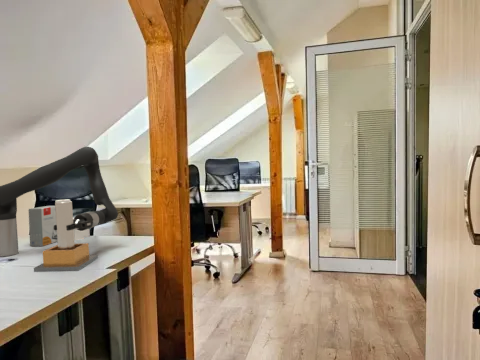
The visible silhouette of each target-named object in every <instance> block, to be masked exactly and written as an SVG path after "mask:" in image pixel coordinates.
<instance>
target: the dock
mask: <svg viewBox="0 0 480 360" xmlns="http://www.w3.org/2000/svg"><path fill="white" fill-rule="evenodd" d="M97 259H98V255H97V254H93V255H92V254H90V246H89V242H88V243H87V242H85V243H81V242H80V243H75V249H73V250H58V244H56V245H54V246H52V247H50V248H47V249H45V250H43V251H42V262H43V263H41V264H39V265H37V266H35V267H33V272H34V273H35V272H37V273H38V272H66V271H67V272H69V271H70V272H71V271H72V272H74V271H75V272H76V271H80V270H82V269H84V268H85V267H87V265H90V264H91V263H93V262H94V261H96V260H97Z"/></svg>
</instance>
